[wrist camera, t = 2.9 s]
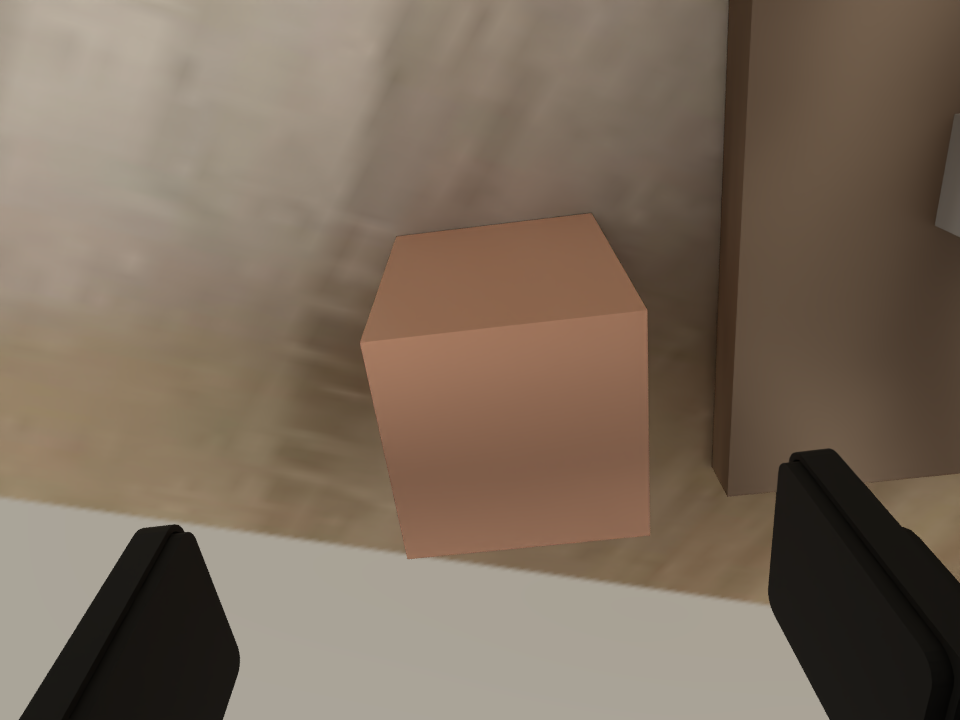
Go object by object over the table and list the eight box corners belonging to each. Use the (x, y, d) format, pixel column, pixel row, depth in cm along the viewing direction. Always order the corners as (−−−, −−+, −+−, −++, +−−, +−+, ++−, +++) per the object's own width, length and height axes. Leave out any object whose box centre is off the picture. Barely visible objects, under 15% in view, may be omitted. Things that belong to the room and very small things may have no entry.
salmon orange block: (591, 212, 18) (647, 310, 12) (599, 384, 21) (650, 535, 15) (395, 236, 19) (360, 342, 13) (426, 403, 21) (407, 559, 15)
